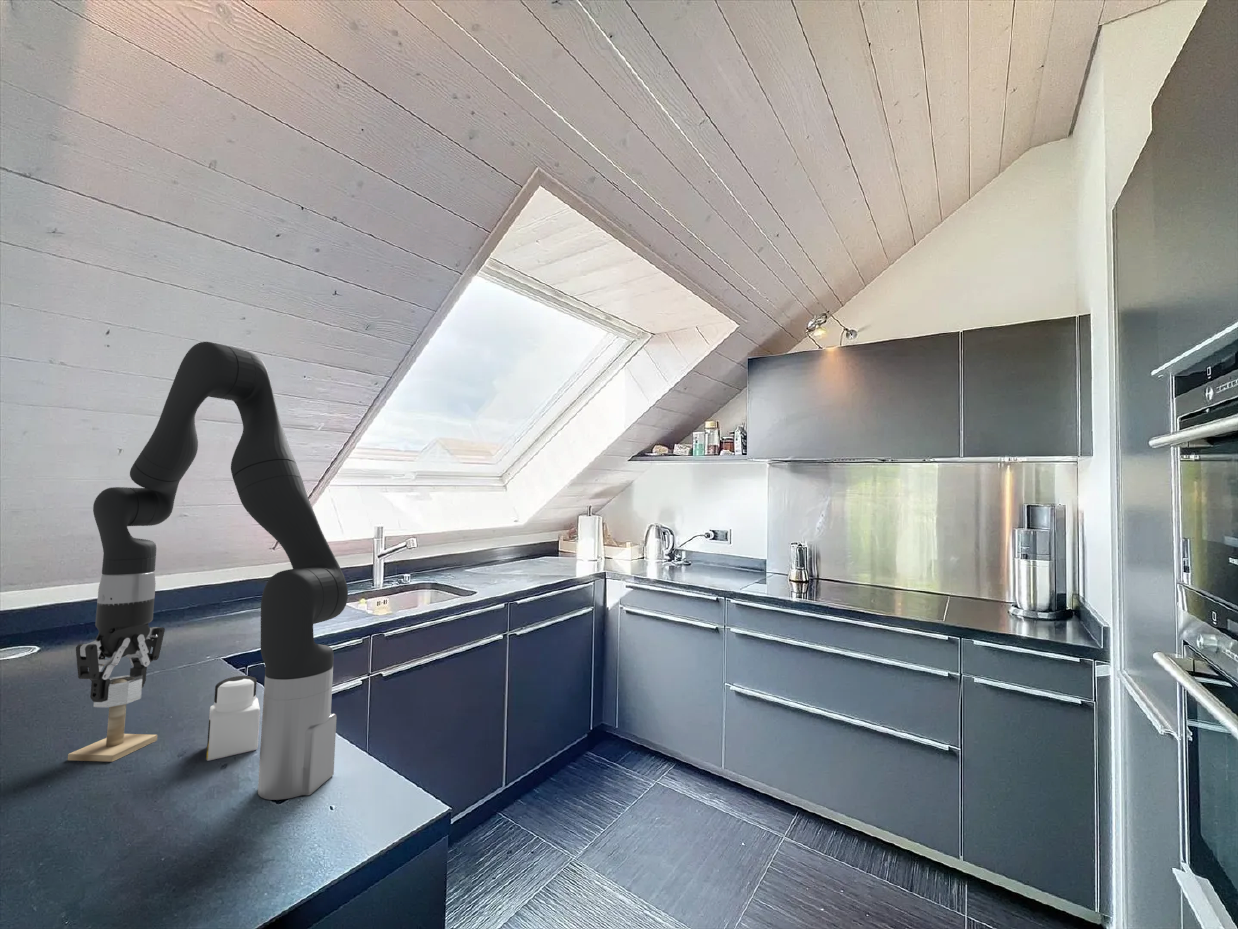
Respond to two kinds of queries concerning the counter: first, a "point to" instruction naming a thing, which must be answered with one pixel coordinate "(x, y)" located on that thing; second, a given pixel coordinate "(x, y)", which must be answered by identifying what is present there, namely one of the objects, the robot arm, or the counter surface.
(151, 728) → the counter surface
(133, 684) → the ring
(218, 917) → the counter surface
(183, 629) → the counter surface
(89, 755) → the post stand
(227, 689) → the medicine bottle
